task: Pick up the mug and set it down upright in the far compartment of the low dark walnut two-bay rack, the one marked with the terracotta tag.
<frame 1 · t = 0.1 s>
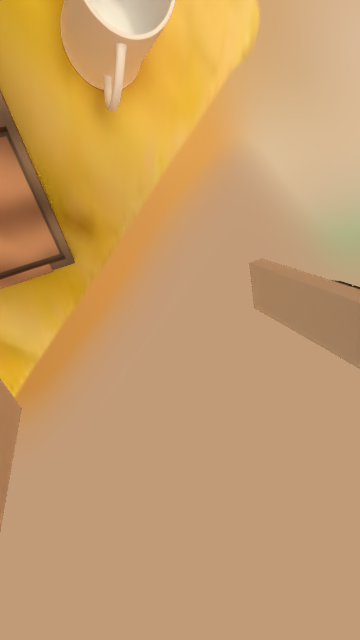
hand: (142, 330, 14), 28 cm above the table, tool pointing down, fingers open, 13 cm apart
mug: (101, 61, 31), on the table
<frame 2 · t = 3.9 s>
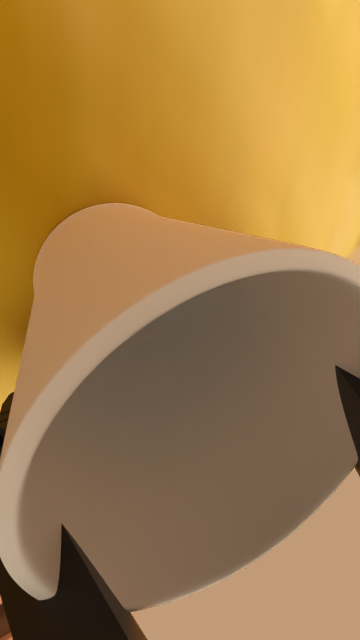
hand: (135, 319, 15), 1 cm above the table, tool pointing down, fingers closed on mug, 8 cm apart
mug: (116, 312, 16), on the table, touching gripper
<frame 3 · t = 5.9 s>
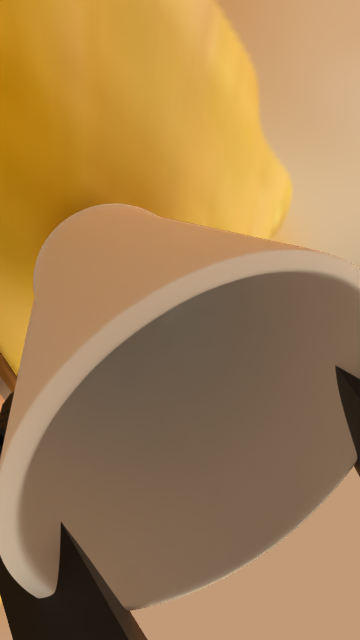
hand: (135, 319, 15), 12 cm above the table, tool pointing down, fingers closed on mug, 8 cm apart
mug: (116, 312, 16), point 10 cm above the table, touching gripper
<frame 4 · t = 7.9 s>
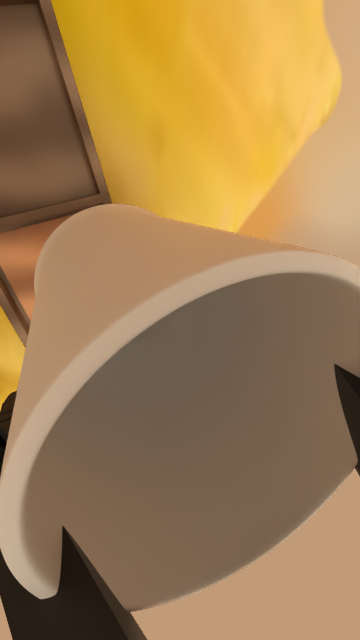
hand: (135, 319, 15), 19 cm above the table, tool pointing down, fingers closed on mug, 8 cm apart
rack: (40, 212, 28), on the table
mug: (117, 313, 16), point 18 cm above the table, touching gripper
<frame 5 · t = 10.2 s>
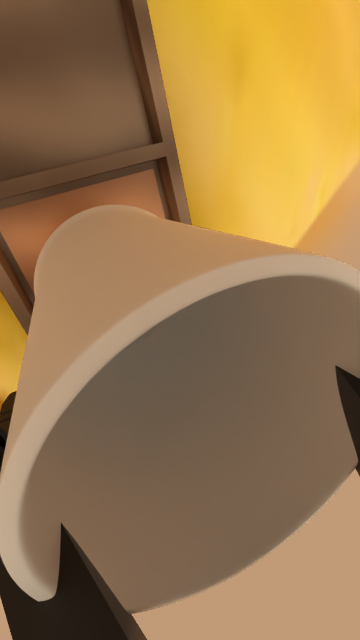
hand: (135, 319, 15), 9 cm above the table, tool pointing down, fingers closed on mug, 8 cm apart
rack: (70, 174, 19), on the table
mug: (117, 313, 16), point 7 cm above the table, touching gripper
when the fingers open (4 cm above the table, at t = 12.1 s): mug drops 1 cm, resting on rack.
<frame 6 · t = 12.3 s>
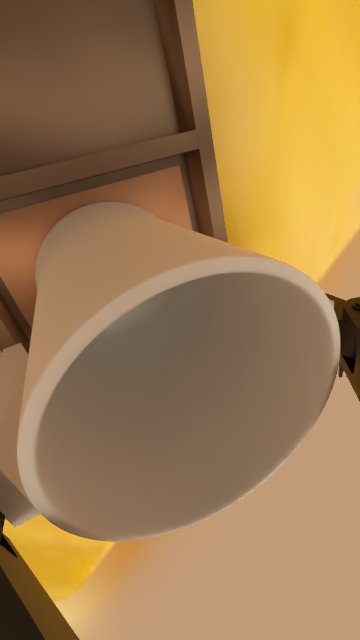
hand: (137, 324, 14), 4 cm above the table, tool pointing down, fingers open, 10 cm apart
rack: (75, 172, 14), on the table
mug: (111, 303, 17), point 1 cm above the table, touching rack
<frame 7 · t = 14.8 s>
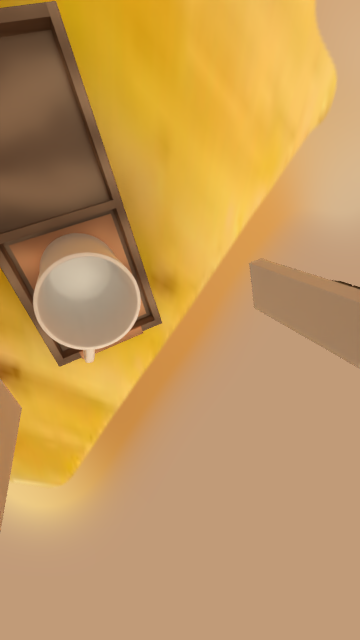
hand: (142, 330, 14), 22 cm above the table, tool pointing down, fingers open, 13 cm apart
rack: (58, 219, 30), on the table
mug: (80, 284, 32), point 1 cm above the table, touching rack
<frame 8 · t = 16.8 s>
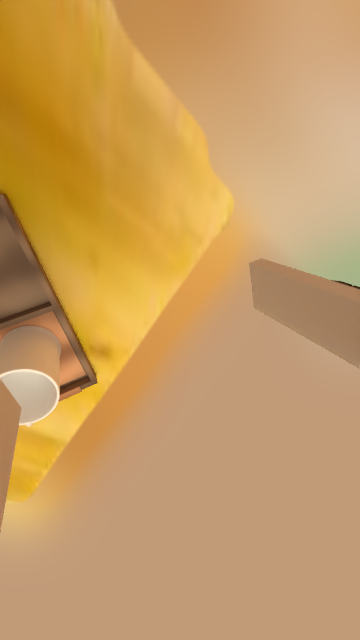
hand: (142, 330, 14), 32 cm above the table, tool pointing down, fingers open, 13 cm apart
rack: (12, 316, 41), on the table
mug: (31, 358, 43), point 1 cm above the table, touching rack
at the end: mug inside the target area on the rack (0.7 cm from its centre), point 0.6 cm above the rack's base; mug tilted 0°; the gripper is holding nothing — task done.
